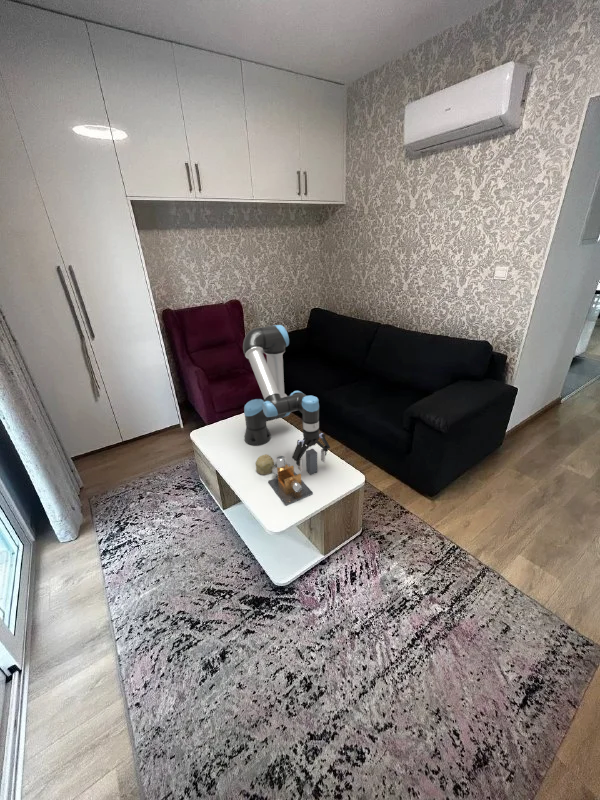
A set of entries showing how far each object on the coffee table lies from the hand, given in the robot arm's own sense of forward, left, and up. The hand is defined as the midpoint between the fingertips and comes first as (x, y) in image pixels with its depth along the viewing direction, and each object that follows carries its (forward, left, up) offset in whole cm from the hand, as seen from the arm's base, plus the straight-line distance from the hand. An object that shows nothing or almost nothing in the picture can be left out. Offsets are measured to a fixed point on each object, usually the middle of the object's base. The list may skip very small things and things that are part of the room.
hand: (311, 465), depth 162 cm
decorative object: (-14, -19, -4) cm, 24 cm away
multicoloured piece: (+3, -15, -4) cm, 16 cm away
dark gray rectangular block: (0, 0, -4) cm, 4 cm away
